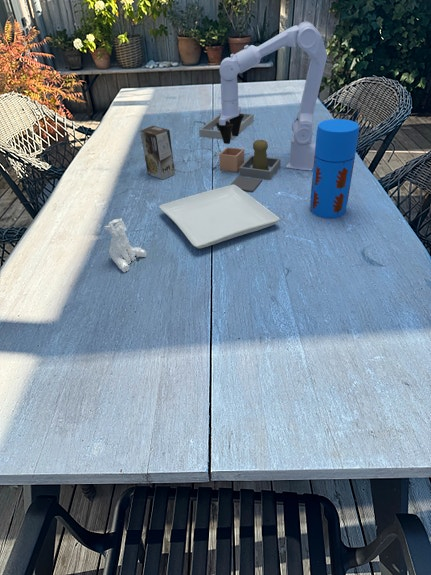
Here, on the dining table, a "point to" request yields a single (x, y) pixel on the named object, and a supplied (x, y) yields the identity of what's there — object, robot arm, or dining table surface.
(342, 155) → the thermos
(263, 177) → the grey rectangular frame
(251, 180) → the dark grey rubber mat
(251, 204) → the square plate
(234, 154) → the terracotta pot
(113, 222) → the sitting furry creature
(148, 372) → the dining table surface
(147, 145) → the coffee box
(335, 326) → the dining table surface
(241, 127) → the dark grey tray
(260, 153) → the cork
